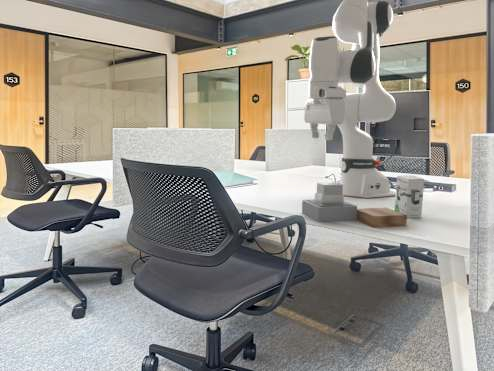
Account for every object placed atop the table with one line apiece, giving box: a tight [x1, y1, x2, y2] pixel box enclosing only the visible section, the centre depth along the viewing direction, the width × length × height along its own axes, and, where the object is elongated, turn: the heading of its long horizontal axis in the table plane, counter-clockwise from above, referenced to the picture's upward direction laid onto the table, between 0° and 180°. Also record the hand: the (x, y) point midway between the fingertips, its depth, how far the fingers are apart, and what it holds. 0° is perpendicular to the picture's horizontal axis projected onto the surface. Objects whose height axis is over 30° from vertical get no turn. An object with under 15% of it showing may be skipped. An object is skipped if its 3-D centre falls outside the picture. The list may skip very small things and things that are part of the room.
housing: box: [314, 181, 345, 204], centre depth 122 cm, size 7×5×6 cm
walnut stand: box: [356, 207, 408, 228], centre depth 116 cm, size 10×10×3 cm
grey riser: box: [301, 198, 358, 223], centre depth 122 cm, size 12×12×4 cm
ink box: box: [394, 174, 425, 219], centre depth 125 cm, size 9×5×12 cm, turn 4°
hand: (321, 139), depth 125 cm, fingers open, 8 cm apart
